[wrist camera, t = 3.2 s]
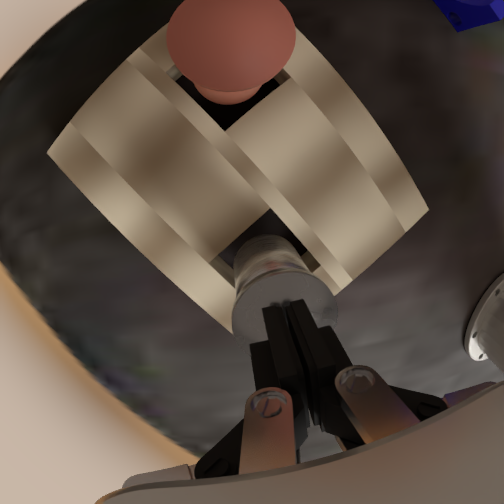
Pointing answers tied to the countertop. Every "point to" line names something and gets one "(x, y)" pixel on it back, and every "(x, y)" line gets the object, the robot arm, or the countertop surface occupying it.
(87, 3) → the countertop surface
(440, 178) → the countertop surface
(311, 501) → the robot arm
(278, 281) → the grey plug
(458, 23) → the cable clip
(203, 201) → the board
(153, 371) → the countertop surface
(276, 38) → the red plug
